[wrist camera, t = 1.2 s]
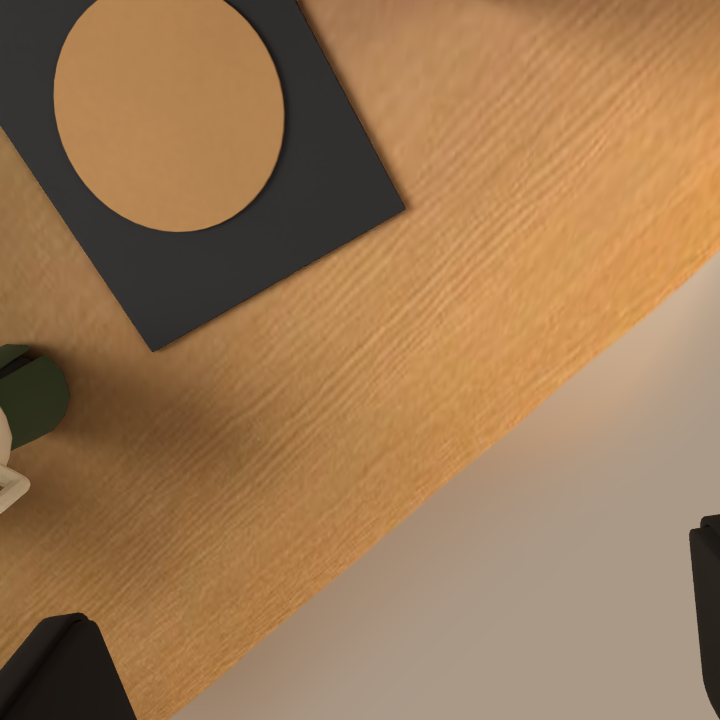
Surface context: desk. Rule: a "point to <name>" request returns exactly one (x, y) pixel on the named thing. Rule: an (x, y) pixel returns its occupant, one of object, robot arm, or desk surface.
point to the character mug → (26, 410)
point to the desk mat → (188, 146)
